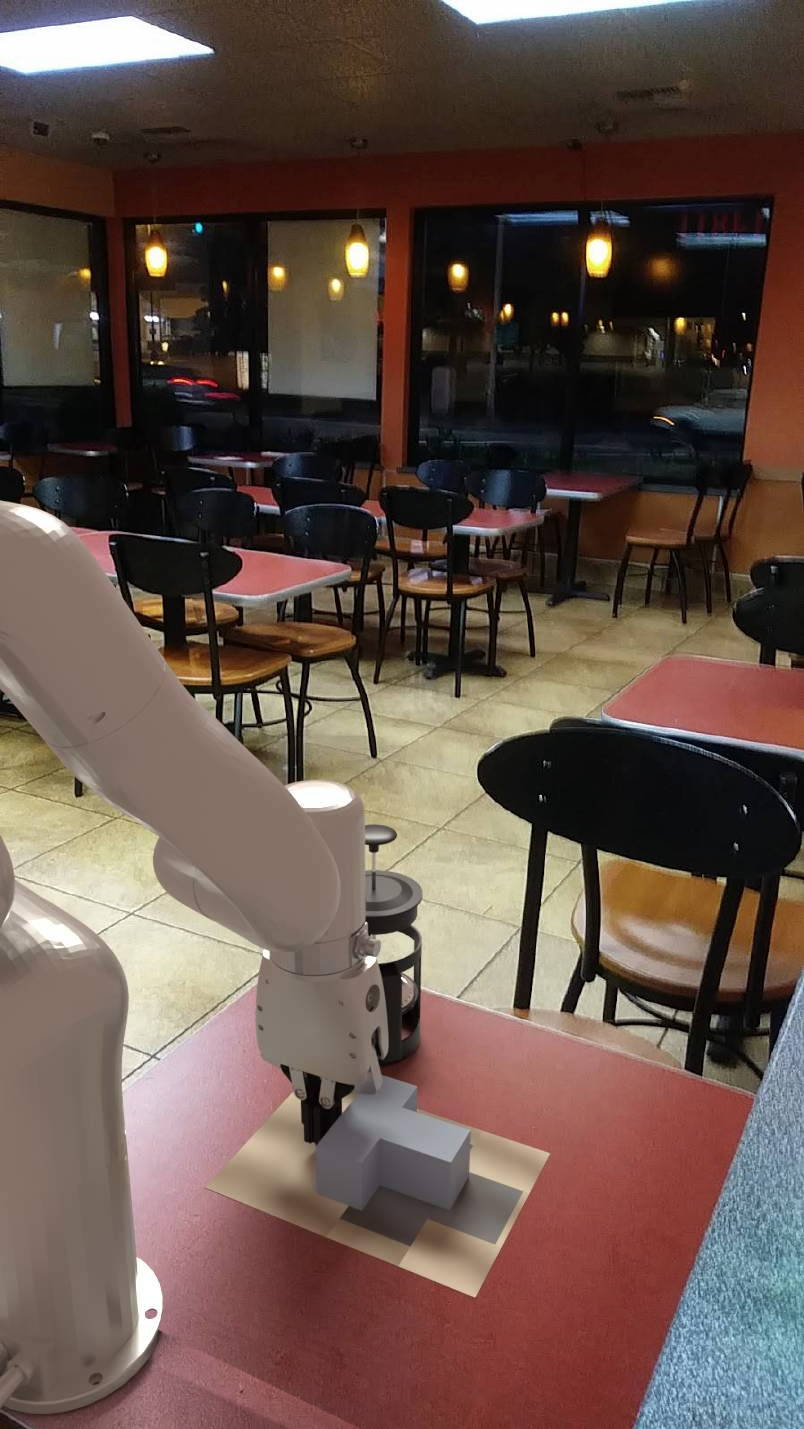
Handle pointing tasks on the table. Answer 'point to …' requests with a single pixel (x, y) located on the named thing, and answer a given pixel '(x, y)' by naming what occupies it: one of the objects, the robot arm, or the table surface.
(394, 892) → the french press
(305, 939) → the robot arm
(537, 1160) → the board
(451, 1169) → the t block
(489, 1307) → the table surface
